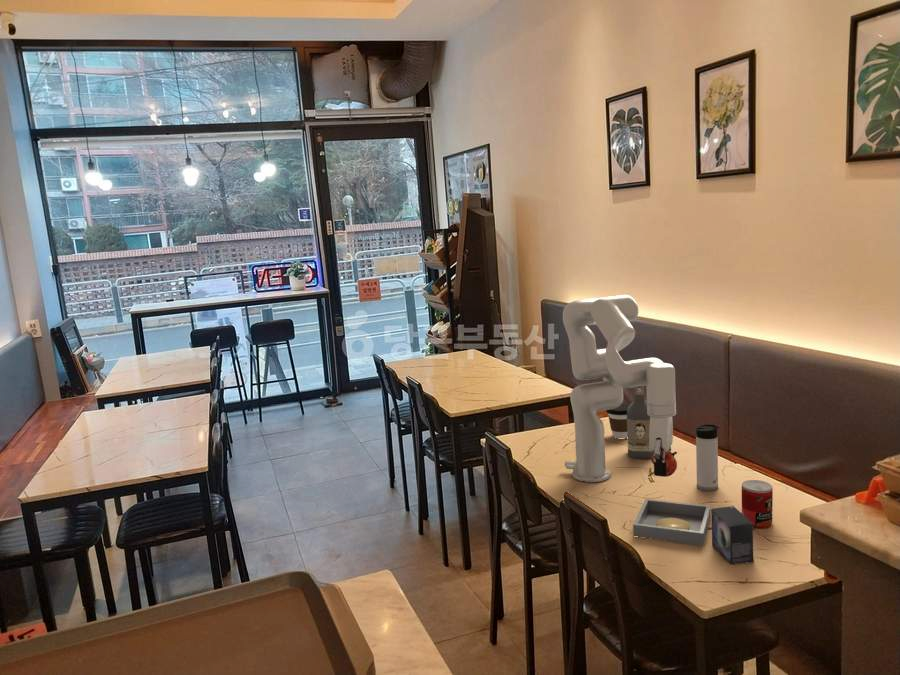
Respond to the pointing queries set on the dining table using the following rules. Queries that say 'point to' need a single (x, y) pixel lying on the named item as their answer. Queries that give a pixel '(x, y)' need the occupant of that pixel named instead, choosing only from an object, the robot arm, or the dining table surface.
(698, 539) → the walled pen
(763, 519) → the canned food
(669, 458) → the pomegranate
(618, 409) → the coffee cup
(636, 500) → the dining table surface
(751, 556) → the small box
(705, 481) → the travel mug
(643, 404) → the liquor
